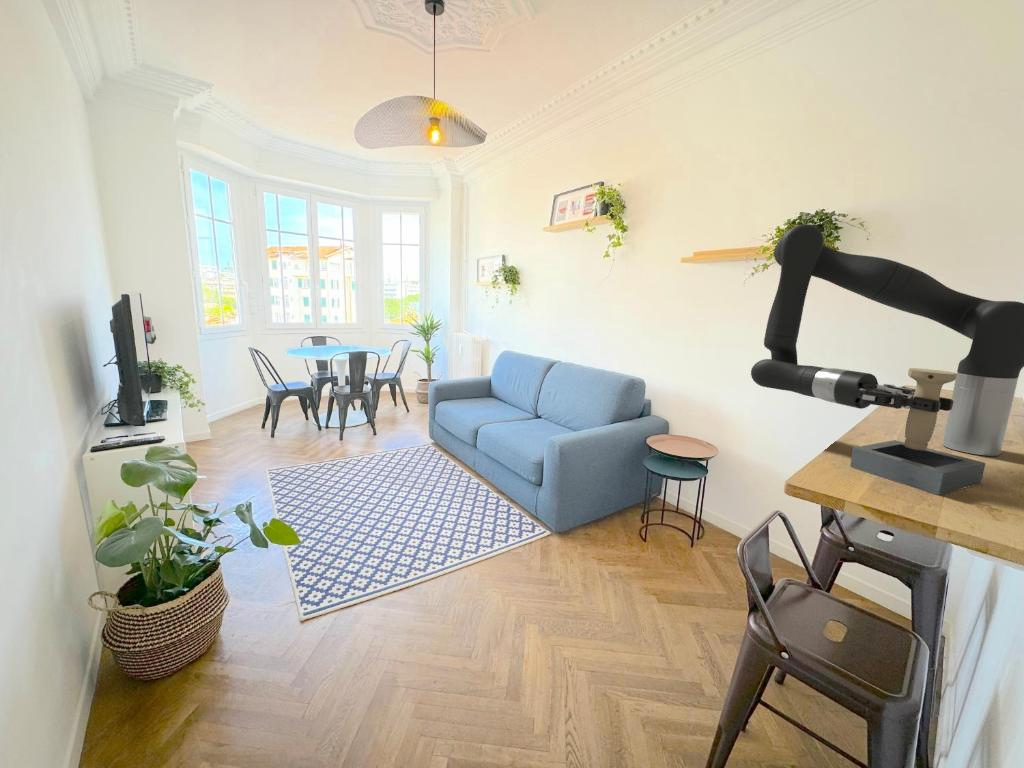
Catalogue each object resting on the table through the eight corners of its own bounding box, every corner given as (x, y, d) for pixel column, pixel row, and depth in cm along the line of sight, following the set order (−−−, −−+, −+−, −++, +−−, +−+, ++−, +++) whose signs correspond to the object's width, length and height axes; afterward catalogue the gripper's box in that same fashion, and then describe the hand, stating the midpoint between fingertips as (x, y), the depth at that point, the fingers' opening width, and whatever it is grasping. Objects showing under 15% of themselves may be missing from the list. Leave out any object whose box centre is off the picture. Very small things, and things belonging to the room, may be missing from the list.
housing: (891, 458, 92) (894, 440, 91) (980, 483, 79) (985, 462, 79) (850, 466, 87) (853, 447, 86) (938, 495, 74) (943, 473, 73)
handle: (937, 455, 78) (956, 375, 75) (891, 446, 83) (907, 370, 80) (938, 449, 82) (957, 372, 79) (894, 441, 86) (910, 367, 83)
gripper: (825, 371, 90) (927, 388, 75) (866, 368, 95) (971, 383, 80) (819, 406, 92) (918, 429, 76) (860, 401, 97) (961, 422, 81)
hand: (944, 406), depth 78 cm, fingers closed on handle, 3 cm apart
